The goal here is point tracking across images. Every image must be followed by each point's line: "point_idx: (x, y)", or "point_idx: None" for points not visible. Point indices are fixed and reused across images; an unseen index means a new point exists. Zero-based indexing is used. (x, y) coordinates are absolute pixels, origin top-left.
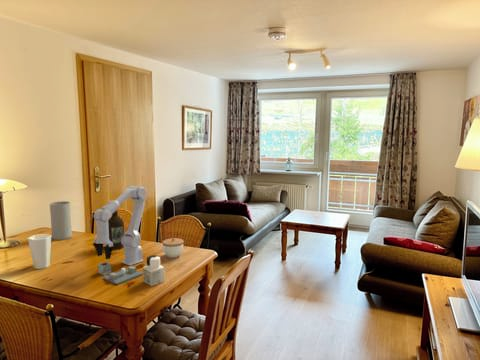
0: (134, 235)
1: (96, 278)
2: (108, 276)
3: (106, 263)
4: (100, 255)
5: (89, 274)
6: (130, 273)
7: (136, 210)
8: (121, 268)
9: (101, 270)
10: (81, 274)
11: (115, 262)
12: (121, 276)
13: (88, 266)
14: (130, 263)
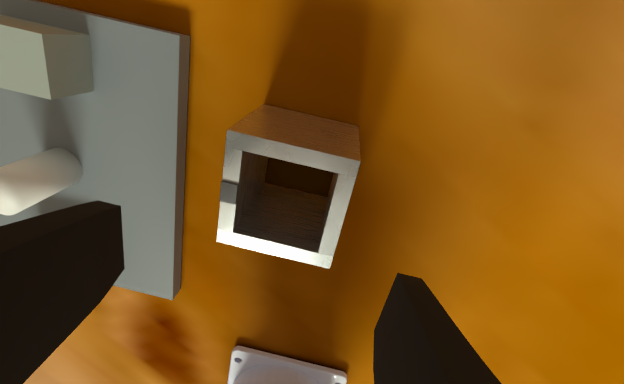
0: None
1: (269, 5)
2: (145, 73)
3: (298, 242)
4: (384, 308)
5: (440, 59)
6: None
7: None
8: (13, 191)
9: (286, 123)
10: (549, 9)
11: None
12: (45, 133)
13: (614, 227)
14: (250, 369)
